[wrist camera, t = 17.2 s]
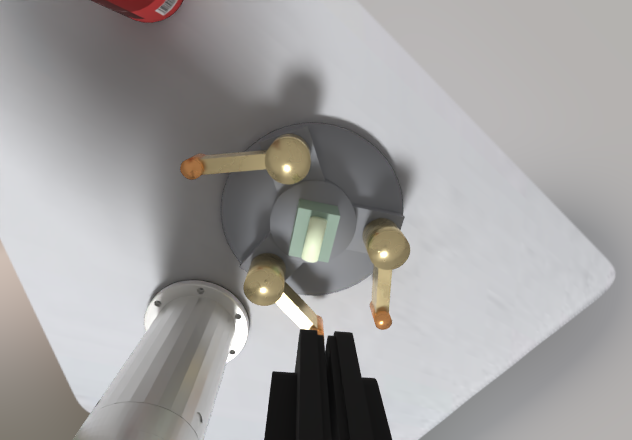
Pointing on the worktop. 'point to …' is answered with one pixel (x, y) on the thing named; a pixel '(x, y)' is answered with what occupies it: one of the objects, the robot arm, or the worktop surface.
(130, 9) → the canned food
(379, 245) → the knob
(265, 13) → the worktop surface
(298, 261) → the tribrach
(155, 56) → the worktop surface
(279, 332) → the worktop surface
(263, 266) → the knob
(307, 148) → the knob
